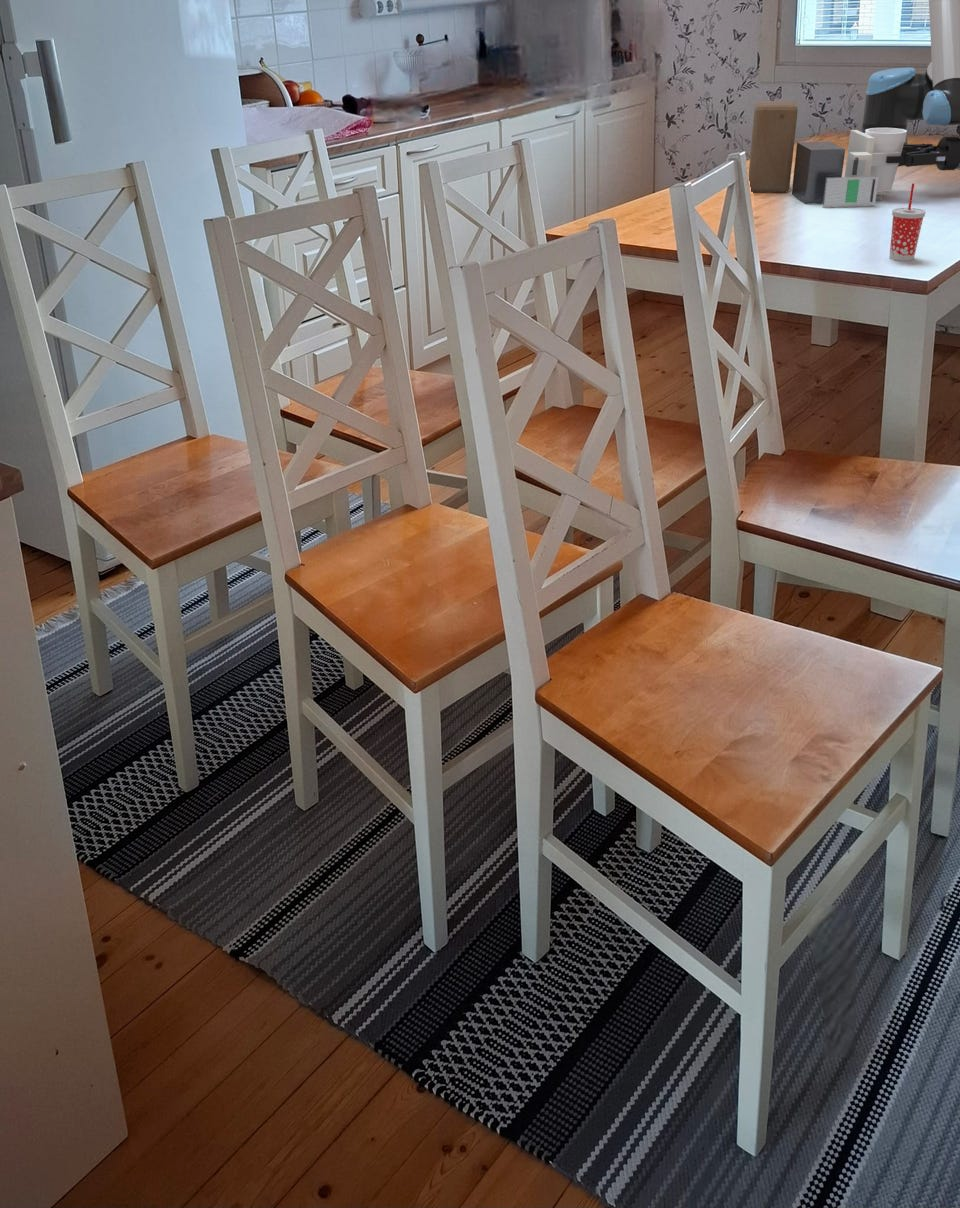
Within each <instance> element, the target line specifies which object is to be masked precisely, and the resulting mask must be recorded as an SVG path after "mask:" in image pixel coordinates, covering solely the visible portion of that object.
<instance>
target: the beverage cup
mask: <svg viewBox="0 0 960 1208" xmlns="http://www.w3.org/2000/svg"><path fill="white" fill-rule="evenodd" d="M910 187H911V188H910V194H909V201H908V206H907V207H897V208H893V209H892V211H891V212H892V213H891V215H892V224H891V225H892V226H891V235H890V236H891V237H890V247H889V256H888V257H889V259H890V260H893V261H897V262H899V261H900V262H909V261H914V260H915V256H916V251H917V247H918V242H919V238H920V235H921V234H920V233H921V231H922V230H921V229H922V224H923V220H924V217H925V216H926V209H925V210H924V209H921V208H915V207H912V203H913V202H912V201H913V196H914V189H915V183H911V186H910Z"/></svg>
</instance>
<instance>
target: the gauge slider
mask: <svg viewBox="0 0 960 1208" xmlns="http://www.w3.org/2000/svg"><path fill="white" fill-rule="evenodd" d="M874 143H875V138H874V137H872V136H869V135H867V134H865V133H863V132H861V131H860V130H858V129H850V134H849V139H848V148H847V154H846V155H847V156H846V163H845V171H844V177H861V176H870V172H871V164H872V157H873V150H874Z"/></svg>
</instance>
